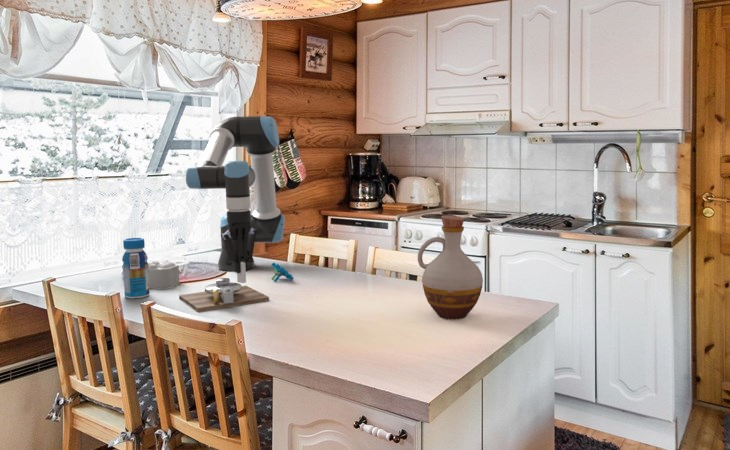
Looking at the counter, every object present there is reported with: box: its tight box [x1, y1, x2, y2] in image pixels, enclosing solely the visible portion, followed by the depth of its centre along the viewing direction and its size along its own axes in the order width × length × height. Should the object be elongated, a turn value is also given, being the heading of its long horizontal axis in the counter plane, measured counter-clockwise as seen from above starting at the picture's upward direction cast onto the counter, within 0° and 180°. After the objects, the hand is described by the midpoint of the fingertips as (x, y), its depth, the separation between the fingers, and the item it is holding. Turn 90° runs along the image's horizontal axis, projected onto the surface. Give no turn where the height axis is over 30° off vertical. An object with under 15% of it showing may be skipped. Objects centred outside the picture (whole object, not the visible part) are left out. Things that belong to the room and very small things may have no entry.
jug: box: [417, 215, 484, 321], centre depth 179 cm, size 20×18×30 cm
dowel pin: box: [213, 290, 219, 305], centre depth 192 cm, size 2×2×4 cm
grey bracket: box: [204, 277, 243, 304], centre depth 199 cm, size 19×12×5 cm, turn 20°
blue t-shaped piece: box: [271, 262, 294, 283], centre depth 228 cm, size 11×6×10 cm
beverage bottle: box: [121, 237, 151, 300], centre depth 207 cm, size 8×8×20 cm
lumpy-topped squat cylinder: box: [147, 260, 180, 290], centre depth 224 cm, size 10×13×9 cm
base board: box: [178, 285, 270, 313], centre depth 202 cm, size 20×24×3 cm
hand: (241, 282), depth 195 cm, fingers closed
